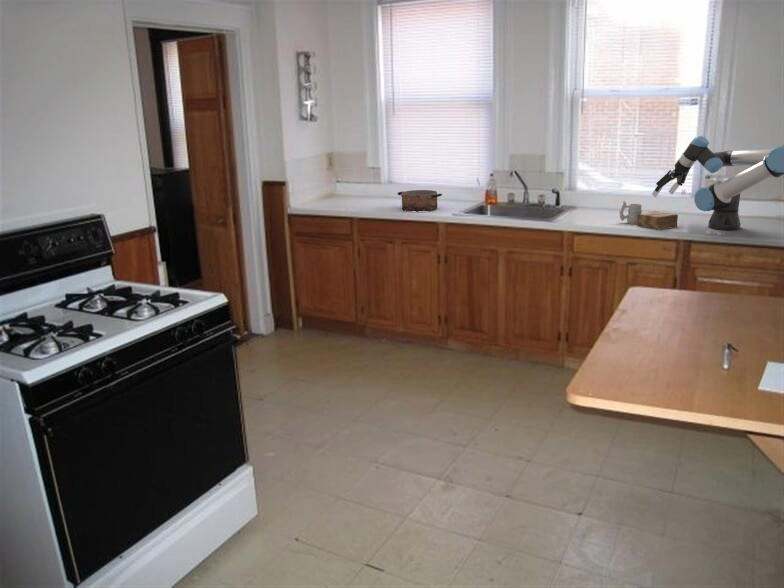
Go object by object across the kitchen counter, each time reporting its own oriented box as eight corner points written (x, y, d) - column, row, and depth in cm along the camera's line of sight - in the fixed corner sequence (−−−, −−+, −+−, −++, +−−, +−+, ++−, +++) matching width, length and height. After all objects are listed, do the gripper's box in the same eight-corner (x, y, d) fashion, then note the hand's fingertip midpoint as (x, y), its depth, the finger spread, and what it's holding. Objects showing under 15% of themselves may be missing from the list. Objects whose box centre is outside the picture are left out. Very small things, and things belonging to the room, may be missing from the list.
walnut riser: (676, 226, 371) (677, 214, 370) (659, 229, 364) (660, 217, 363) (654, 222, 383) (655, 211, 381) (637, 225, 376) (638, 214, 374)
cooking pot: (449, 208, 449) (448, 191, 446) (431, 213, 431) (431, 196, 428) (408, 205, 464) (408, 188, 461) (390, 210, 446) (389, 193, 443)
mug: (643, 223, 380) (644, 201, 377) (620, 224, 381) (622, 202, 378) (639, 221, 388) (641, 199, 384) (617, 221, 389) (618, 199, 385)
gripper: (695, 156, 371) (672, 187, 386) (664, 160, 358) (642, 191, 373) (705, 166, 367) (681, 196, 382) (673, 169, 355) (651, 201, 369)
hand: (662, 194), depth 378 cm, fingers open, 13 cm apart
